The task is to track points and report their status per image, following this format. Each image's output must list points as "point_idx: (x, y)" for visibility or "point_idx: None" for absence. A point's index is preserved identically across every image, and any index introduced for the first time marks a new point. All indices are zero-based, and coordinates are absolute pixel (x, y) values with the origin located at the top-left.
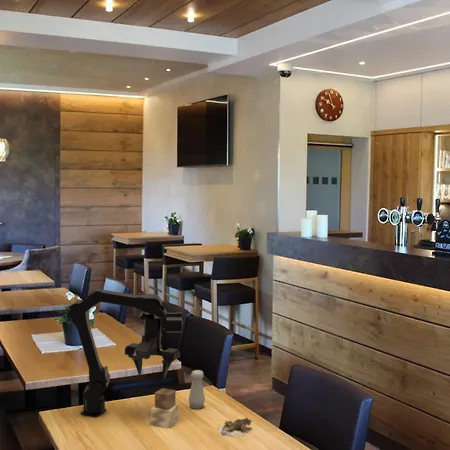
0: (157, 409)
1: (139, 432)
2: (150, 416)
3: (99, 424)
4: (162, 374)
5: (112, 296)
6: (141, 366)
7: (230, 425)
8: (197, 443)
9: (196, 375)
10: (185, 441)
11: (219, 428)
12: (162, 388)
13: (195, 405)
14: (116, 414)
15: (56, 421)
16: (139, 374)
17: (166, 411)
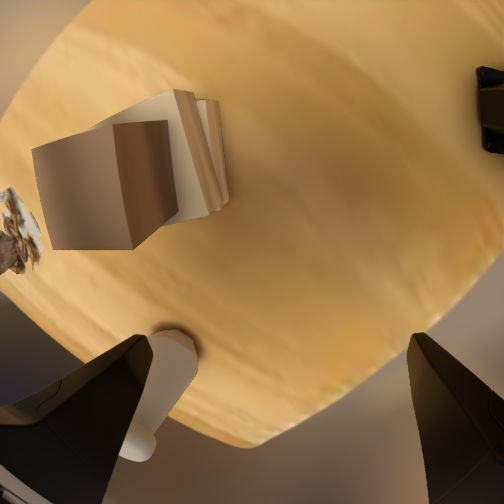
0: (137, 105)
1: (206, 14)
2: (204, 102)
3: (418, 5)
4: (119, 354)
5: None
6: (422, 424)
7: (13, 238)
8: (22, 99)
9: None
10: (45, 82)
11: (32, 222)
12: (127, 240)
13: (159, 333)
14: (429, 130)
15: None
16: (415, 334)
17: (97, 124)
